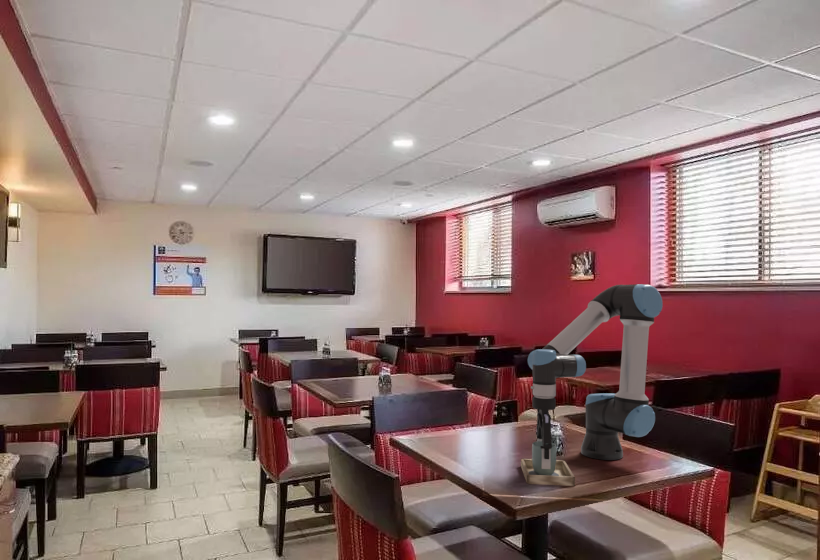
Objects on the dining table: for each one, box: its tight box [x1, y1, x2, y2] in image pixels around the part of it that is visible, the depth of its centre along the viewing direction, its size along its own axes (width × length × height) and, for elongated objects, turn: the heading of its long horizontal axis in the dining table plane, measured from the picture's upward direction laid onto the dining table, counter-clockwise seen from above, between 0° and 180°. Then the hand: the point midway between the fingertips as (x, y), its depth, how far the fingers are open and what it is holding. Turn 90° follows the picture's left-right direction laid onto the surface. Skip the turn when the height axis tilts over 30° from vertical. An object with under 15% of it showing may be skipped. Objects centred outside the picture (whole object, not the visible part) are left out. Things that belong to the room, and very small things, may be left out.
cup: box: [531, 440, 557, 476], centre depth 189 cm, size 8×8×10 cm
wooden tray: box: [520, 458, 576, 487], centre depth 189 cm, size 15×19×3 cm
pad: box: [528, 470, 559, 476], centre depth 189 cm, size 10×10×1 cm
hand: (543, 463), depth 189 cm, fingers open, 11 cm apart
